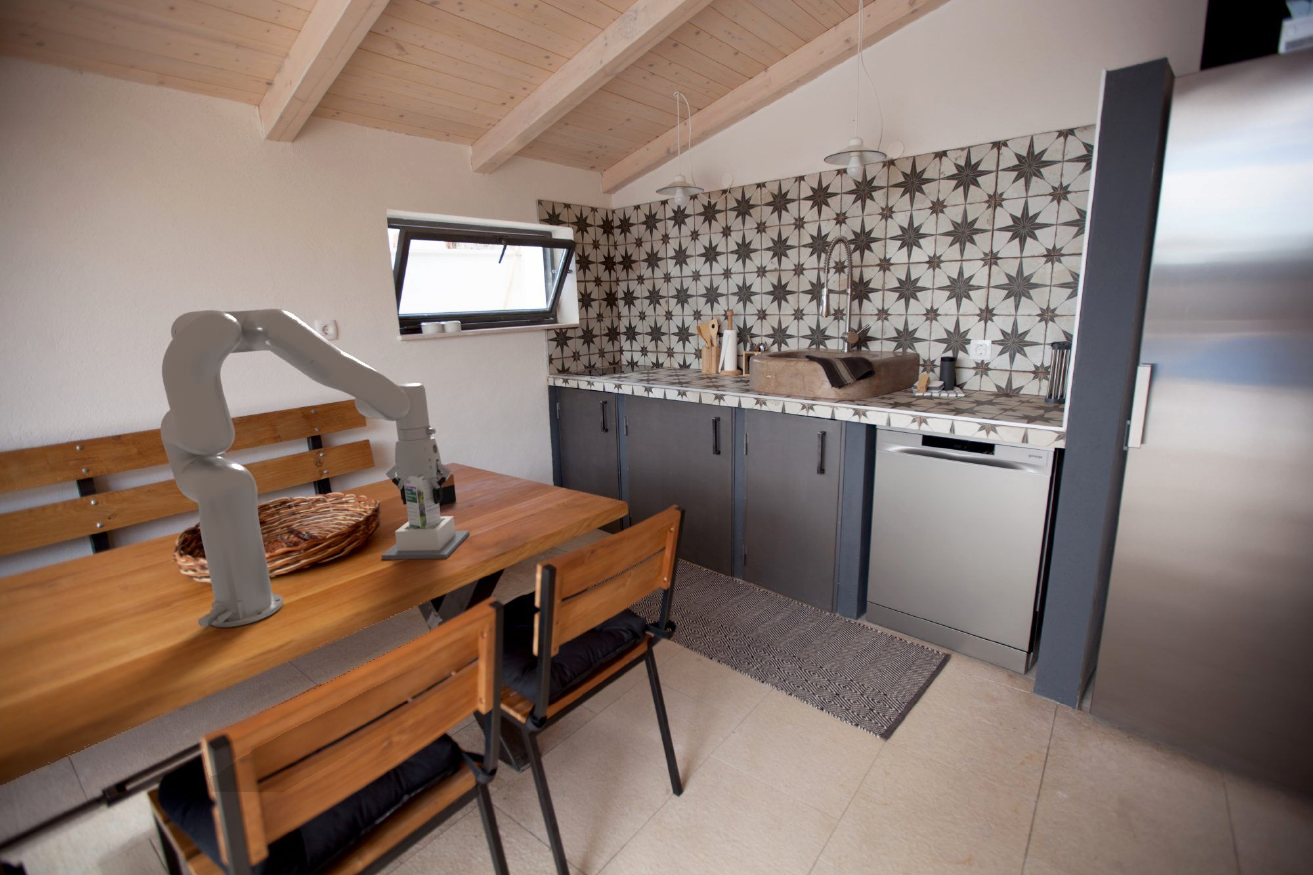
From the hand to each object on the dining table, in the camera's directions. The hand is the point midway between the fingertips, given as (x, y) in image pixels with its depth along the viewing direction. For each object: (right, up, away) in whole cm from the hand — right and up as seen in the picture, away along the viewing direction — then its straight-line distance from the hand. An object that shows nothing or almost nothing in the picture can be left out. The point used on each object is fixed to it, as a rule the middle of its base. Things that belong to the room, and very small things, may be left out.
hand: (422, 502), depth 153 cm
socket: (0, -11, +2) cm, 12 cm away
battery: (-8, -4, +37) cm, 38 cm away
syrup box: (0, -7, +2) cm, 7 cm away
